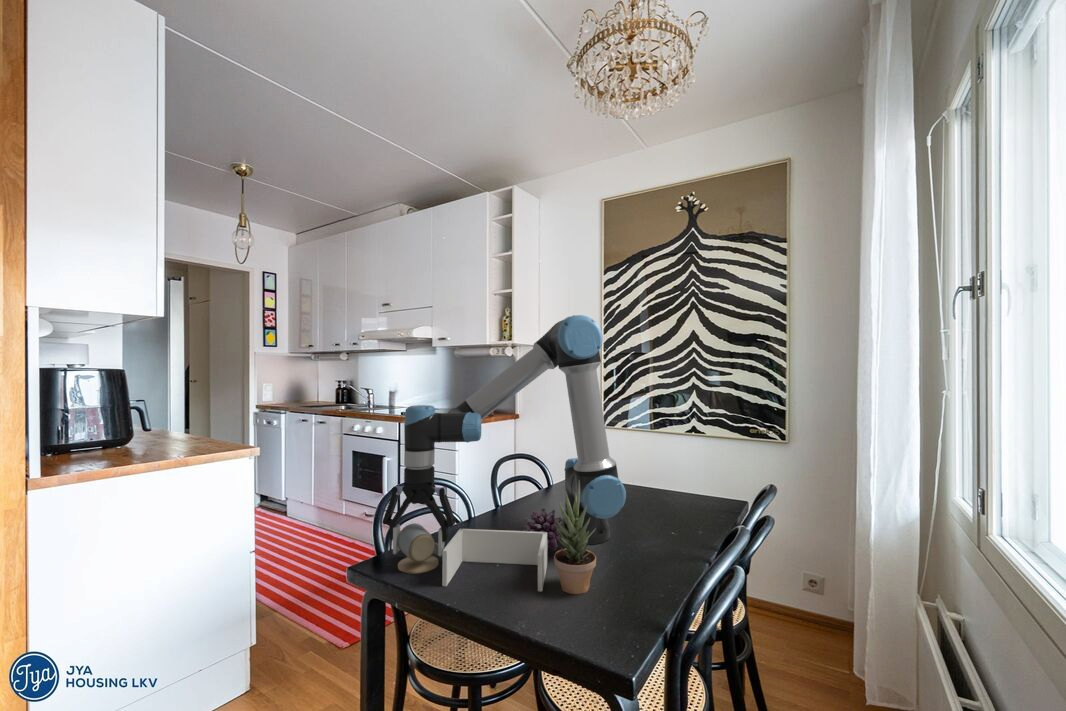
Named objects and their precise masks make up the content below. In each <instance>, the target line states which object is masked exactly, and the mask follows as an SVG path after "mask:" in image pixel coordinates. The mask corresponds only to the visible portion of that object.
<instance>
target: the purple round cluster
mask: <svg viewBox="0 0 1066 711" xmlns="http://www.w3.org/2000/svg"><path fill="white" fill-rule="evenodd" d="M555 513H556V510H555V509H552V511H550V512H548V513H547V512H546V508H545V507H541V508H540V511H539V513H538V512H536V511H535V510H531V513H530V514H529V516H530V518H527V517H525V519H524V521H526V523H527V525H524V526H523V528H524V529H522V530H521V531H529V532H547V550H548V548H551V550H553V551H554V552H556V550H557V548H558V547H559V545H558V543H557V542H560V541H559V540H558V539H557V537H558V538H559V539H560V540H562V539H561V536H560V534H559V532H558V530H557V528H556V526H555V523H556V525H557V527H558V528H559V530H560V531H561V533H563V531H562V530H561V529H560V527H559V526H558V524H557V522H556V520H555V518H556V519H557V520H558V522H559V523H561V521H562V520H563V519H562V517H561V516H559V517H555ZM554 522H555V523H554Z"/></svg>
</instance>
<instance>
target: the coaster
mask: <svg viewBox="0 0 1066 711" xmlns="http://www.w3.org/2000/svg"><path fill="white" fill-rule="evenodd" d="M438 566H439V558H437V557H436V556H433V555H431V556H430V558H428V559H427V560H425V561H423V562H415V561H412V560H411V559H410V558H408V557H407V556H406V557H405V558H403V559H401V560H400V561H399V562H398V563H397V570H398V571H400V572H402V573H403V574H410V575H413V574H423V573H429V572H430V571H433V570H435V569H437V567H438Z"/></svg>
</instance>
